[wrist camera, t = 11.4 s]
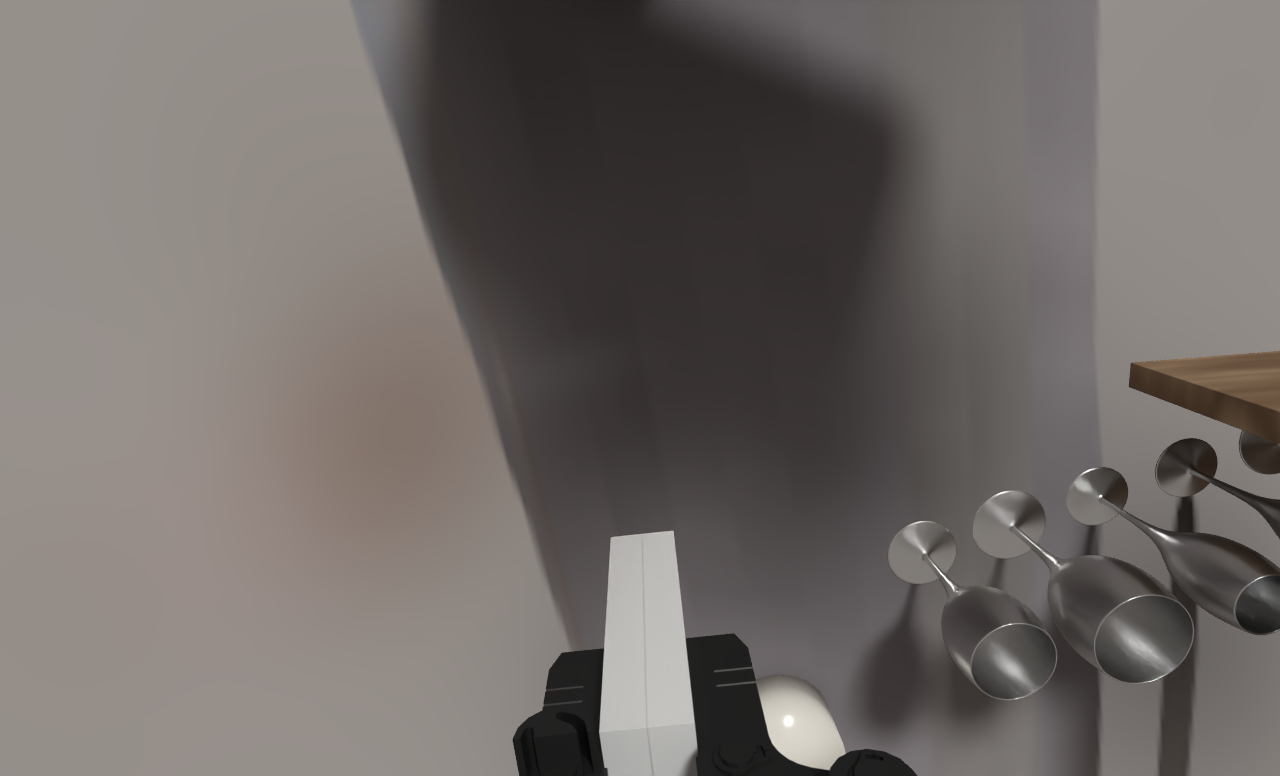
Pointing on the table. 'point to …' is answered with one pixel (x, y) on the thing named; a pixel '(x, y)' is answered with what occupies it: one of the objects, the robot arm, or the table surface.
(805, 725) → the cream squat rounded piece
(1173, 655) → the goblet set
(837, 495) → the table surface
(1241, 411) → the walnut shelf
